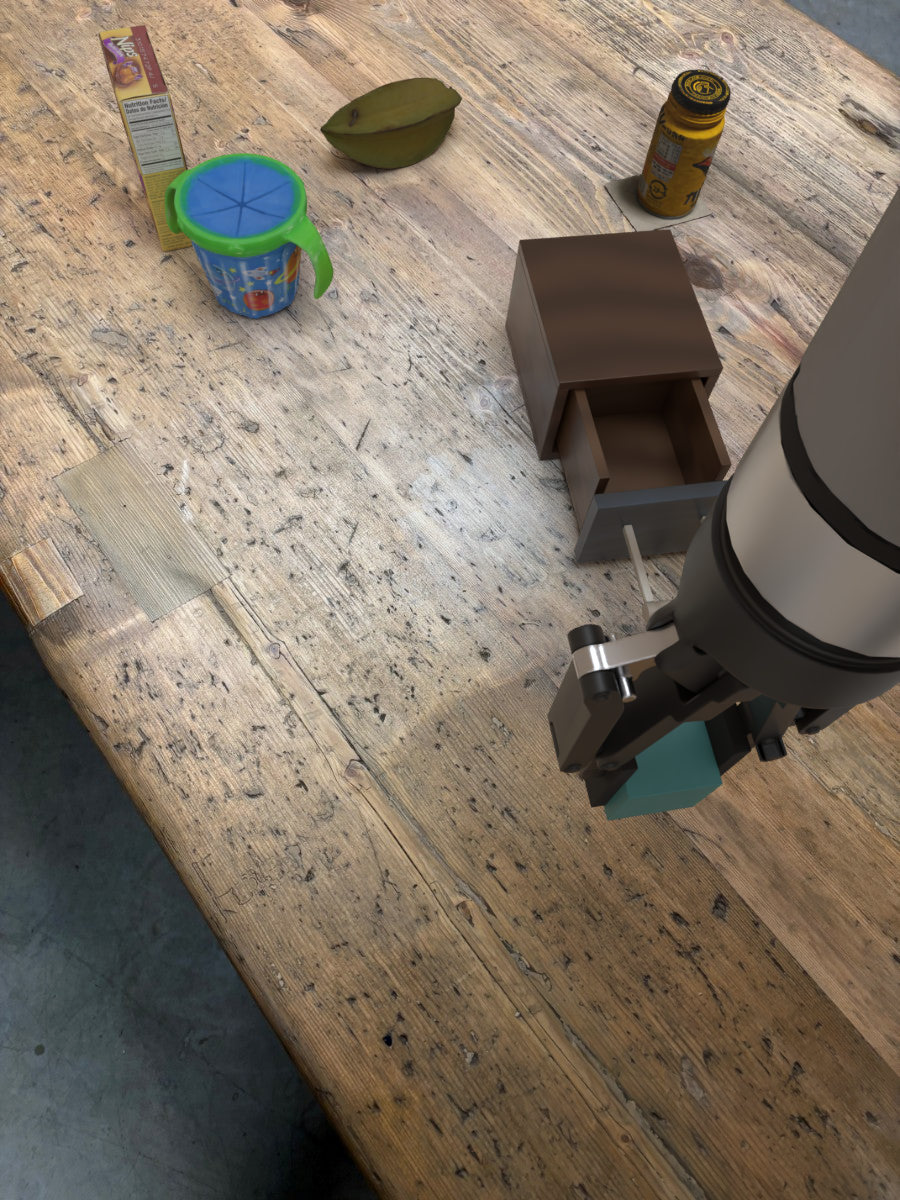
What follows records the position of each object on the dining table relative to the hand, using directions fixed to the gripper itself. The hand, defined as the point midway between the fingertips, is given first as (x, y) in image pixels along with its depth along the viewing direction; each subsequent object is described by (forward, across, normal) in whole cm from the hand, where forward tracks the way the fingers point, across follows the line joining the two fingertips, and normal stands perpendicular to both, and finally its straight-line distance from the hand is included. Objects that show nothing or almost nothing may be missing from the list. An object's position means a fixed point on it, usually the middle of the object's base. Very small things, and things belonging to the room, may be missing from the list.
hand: (642, 771), depth 47 cm
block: (0, 0, 0) cm, 0 cm away
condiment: (+19, -23, -60) cm, 67 cm away
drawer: (+17, -11, -24) cm, 31 cm away
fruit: (+19, +2, -71) cm, 73 cm away
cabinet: (+19, -11, -39) cm, 44 cm away
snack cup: (+19, +17, -53) cm, 59 cm away
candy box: (+19, +24, -63) cm, 70 cm away
